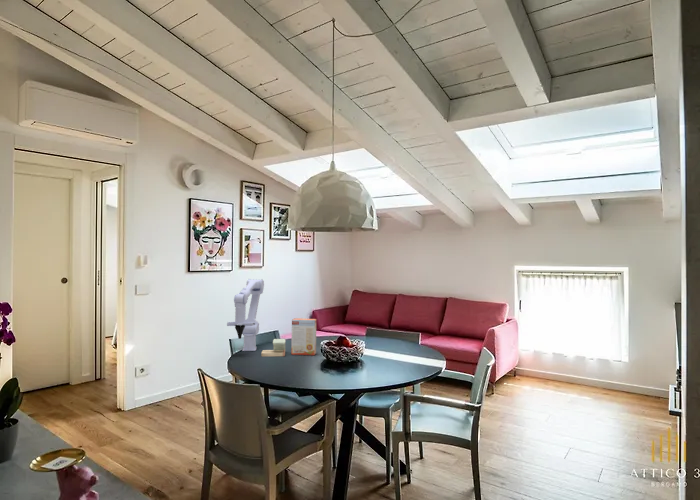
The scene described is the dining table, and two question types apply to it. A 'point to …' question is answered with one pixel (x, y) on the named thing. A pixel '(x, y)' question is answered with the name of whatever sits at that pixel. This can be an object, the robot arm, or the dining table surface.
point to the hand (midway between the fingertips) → (239, 338)
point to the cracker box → (303, 336)
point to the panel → (272, 353)
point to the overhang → (279, 345)
